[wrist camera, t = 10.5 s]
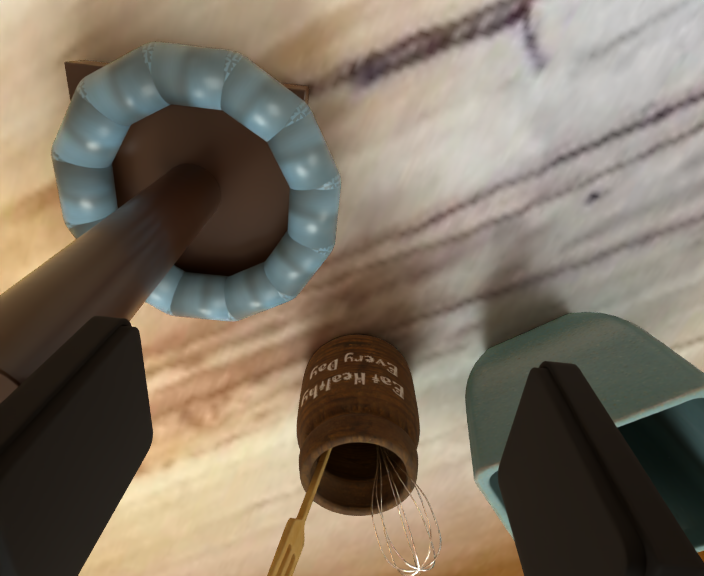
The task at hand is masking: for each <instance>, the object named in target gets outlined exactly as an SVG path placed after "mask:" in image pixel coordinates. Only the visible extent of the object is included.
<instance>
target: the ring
mask: <svg viewBox="0 0 704 576" xmlns="http://www.w3.org/2000/svg"><path fill="white" fill-rule="evenodd" d="M171 104H173V105H182V106H190V107H199V108H208V109H216V110H222V111H224V112H225V113H227V114H228V115H230V116H231V117H232V118H234V119H235V120H237V121H238V122H239V123H241V124H242V125H244V126H245V127H246V128H248V129H249V130H251V131H252V132H253V133H255V134H256V135H258V136H259V137H260V138H262V139H263V140H265V141H266V142H267V144H268V145H269V147H270V149H271V151H272V153H273V155H274V157H275V159H276V161H277V163H278V165H279V167H280V169H281V171H282V173H283V175H284V177H285V179H286V181H287V183H288V185H289V187H290V192H289V212H288V230H287V232H286V233H285V234H284V236H283V237H282V239H281V240H280V241H279V243H278V244H277V246H276V247H275V249H274V250H273V251H272V253H271V254H270V256H269V257H268V258H267V260H266V261H265V262H263V263H260V264H258V265H255V266H253V267H250V268H248V269H246V270H243V271H241V272H238V273H236V274H234V275H231V276H222V275H211V274H201V273H191V272H185V271H184V270H182V269H180V268H178V267H177V266H175V265H173V266H172V268H171V269H170V270H169V272H168V273H167V274H166V275H165V277H164V278H163V279H162V280H161V282H160V283H159V284H158V286H157V287H156V288H155V289H154V291H153V292H152V293H151V294H150V296H149V297H148V298H147V300H146V301H145V302H146V303H148V304H150V305H152V306H154V307H155V308H157V309H159V310H161V311H163V312H164V313H166V314H169V315H172V316H179V317H190V318H200V319H211V320H221V321H239V320H242V319H245V318H247V317H250V316H252V315H255V314H257V313H260V312H263V311H265V310H268V309H270V308H273V307H275V306H278V305H280V304H283V303H286V302H288V301H290V300H292V299H294V298H295V297H296V296H297V295H298V294H299V293H300V292H301V290H302V289H303V288H304V287H305V285H306V284H307V283H308V281H309V280H310V279H311V278H312V276H313V275H314V274H315V272H316V271H317V270H318V269H319V267H320V266H321V265H322V263H323V262H324V261H325V260H326V258H327V257H328V256H329V254H330V253H331V252H332V250H333V248H334V245H335V239H336V229H337V219H338V209H339V199H340V189H341V177H340V173H339V171H338V168H337V166H336V164H335V162H334V160H333V157H332V155H331V153H330V151H329V149H328V146H327V144H326V142H325V140H324V138H323V135H322V133H321V131H320V129H319V126H318V124H317V122H316V120H315V118H314V115H313V113H312V111H311V109H310V108H309V106H308V105H307V104H306V103H305V102H304V101H303V100H302V99H301V98H299V97H298V96H297V95H295V94H294V93H293V92H292V91H290V90H289V89H288V88H286V87H285V86H284V85H282V84H281V83H280V82H278V81H277V80H276V79H274V78H273V77H272V76H270V75H269V74H268V73H266V72H265V71H264V70H263V69H261V68H260V67H259V66H257V65H256V64H255V63H253V62H252V61H251V60H249V59H248V58H247V57H245V56H244V55H242V54H241V53H238V52H236V51H231V50H224V49H216V48H208V47H200V46H191V45H183V44H175V43H167V42H156V41H155V42H149V43H146V44H144V45H142V46H140V47H138V48H137V49H135V50H133V51H131V52H129V53H127V54H126V55H124V56H122V57H120V58H118V59H116V60H115V61H113V62H111V63H109V64H107V65H105V66H104V67H102V68H100V69H98V70H96V71H95V72H93V73H91V74H89V75H87V76H86V77H84V78H83V79H82V80H81V81H80V82H79V84H78V86H77V88H76V90H75V92H74V95H73V97H72V99H71V102H70V104H69V107H68V109H67V111H66V114H65V116H64V118H63V121H62V123H61V126H60V128H59V130H58V133H57V135H56V138H55V140H54V142H53V145H52V150H51V156H52V161H53V167H54V172H55V177H56V182H57V188H58V193H59V198H60V203H61V209H62V214H63V219H64V222H65V224H66V226H67V228H68V229H69V230H70V232H71V233H72V234H73V236H74V237H75V238H76V239H77V238H79V237H80V236H81V235H83V234H84V233H86V232H87V231H88V230H90V229H91V228H92V227H94V226H95V225H96V224H98V223H99V222H100V221H102V220H103V219H105V218H106V217H107V216H109V215H110V214H111V213H113V212H114V211H115V210H117V209H118V206H117V198H116V190H115V183H114V175H113V168H112V162H113V160H114V158H115V156H116V154H117V152H118V150H119V148H120V146H121V144H122V142H123V140H124V138H125V136H126V134H127V132H128V130H129V128H130V126H131V124H133V123H135V122H137V121H139V120H141V119H143V118H145V117H147V116H149V115H151V114H153V113H155V112H157V111H159V110H161V109H163V108H165V107H167V106H169V105H171Z"/></svg>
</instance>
